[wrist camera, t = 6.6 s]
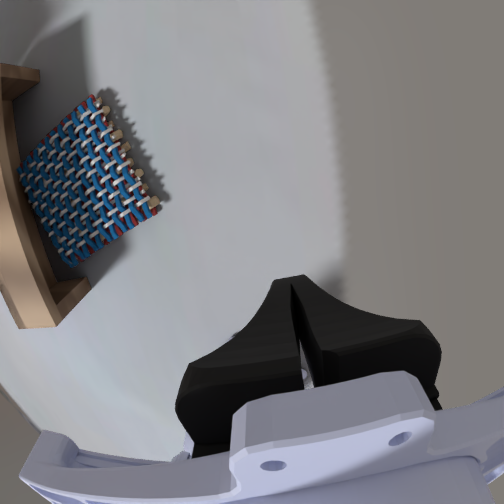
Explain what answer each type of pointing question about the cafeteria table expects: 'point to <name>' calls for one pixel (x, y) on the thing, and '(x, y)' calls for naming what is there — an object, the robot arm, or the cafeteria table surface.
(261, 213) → the cafeteria table surface
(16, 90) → the curved wooden frame
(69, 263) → the woven mat
